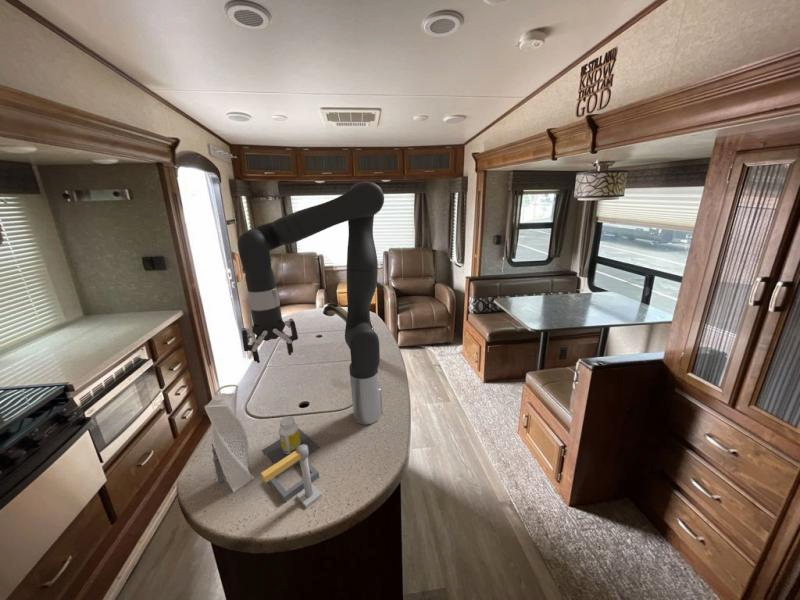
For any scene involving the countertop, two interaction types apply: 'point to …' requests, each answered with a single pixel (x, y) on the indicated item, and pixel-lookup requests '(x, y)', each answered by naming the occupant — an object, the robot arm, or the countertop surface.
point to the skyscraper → (228, 443)
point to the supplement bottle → (289, 435)
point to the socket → (300, 485)
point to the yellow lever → (285, 463)
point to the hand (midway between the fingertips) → (274, 357)
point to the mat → (277, 454)
